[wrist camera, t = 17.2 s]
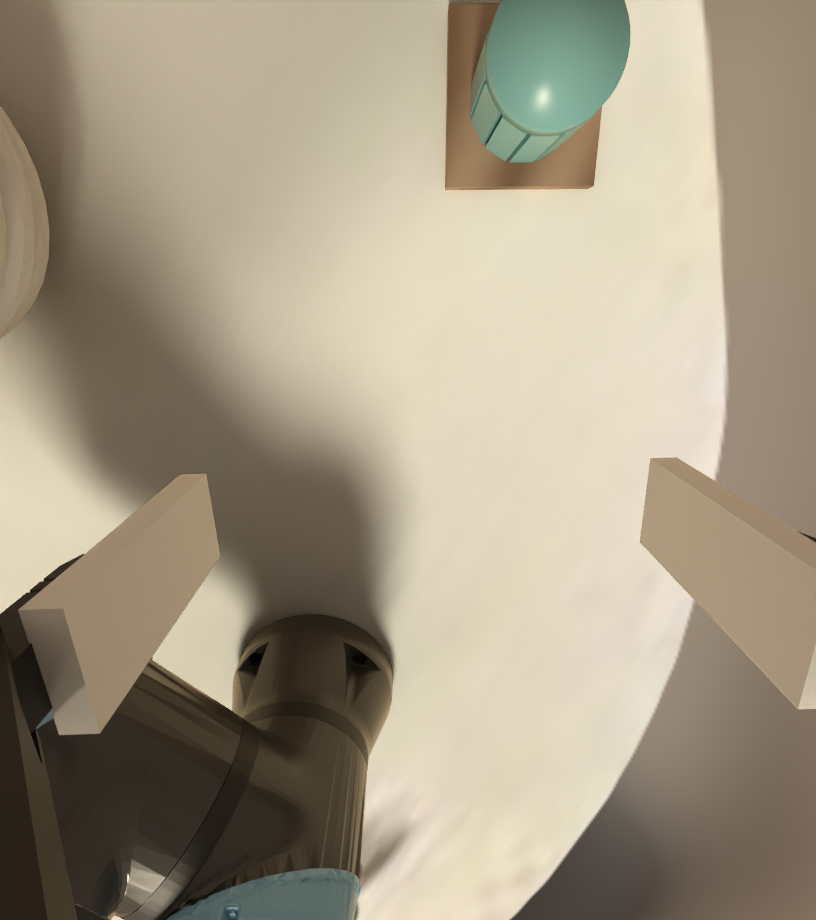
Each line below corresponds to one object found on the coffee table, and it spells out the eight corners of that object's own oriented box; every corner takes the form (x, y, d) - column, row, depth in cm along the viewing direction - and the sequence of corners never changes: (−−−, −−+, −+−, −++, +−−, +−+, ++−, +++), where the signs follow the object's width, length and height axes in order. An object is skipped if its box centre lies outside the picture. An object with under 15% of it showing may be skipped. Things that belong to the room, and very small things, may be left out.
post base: (445, 189, 35) (452, 170, 29) (448, 13, 32) (457, -52, 26) (587, 188, 35) (626, 168, 29) (605, 11, 32) (653, -55, 26)
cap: (468, 162, 34) (485, 129, 26) (472, 35, 31) (492, -43, 24) (573, 161, 34) (620, 127, 26) (584, 33, 31) (639, -45, 24)
